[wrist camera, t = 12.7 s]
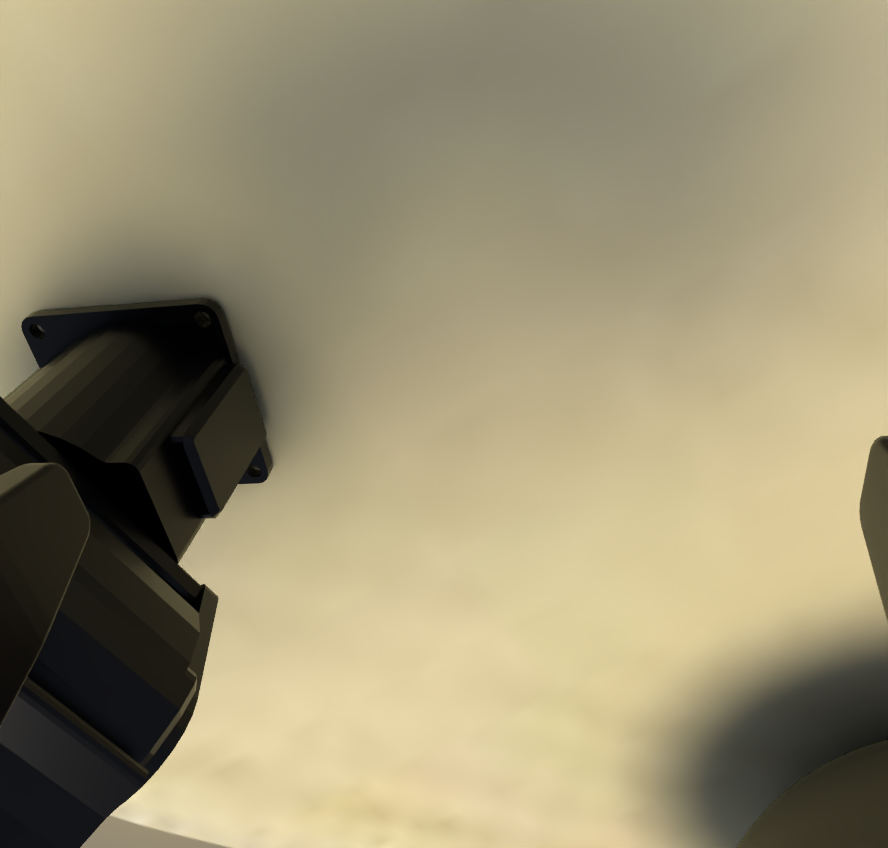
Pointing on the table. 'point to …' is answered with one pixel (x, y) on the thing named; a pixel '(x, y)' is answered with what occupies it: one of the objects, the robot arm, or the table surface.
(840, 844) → the coal bowl
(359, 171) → the table surface
